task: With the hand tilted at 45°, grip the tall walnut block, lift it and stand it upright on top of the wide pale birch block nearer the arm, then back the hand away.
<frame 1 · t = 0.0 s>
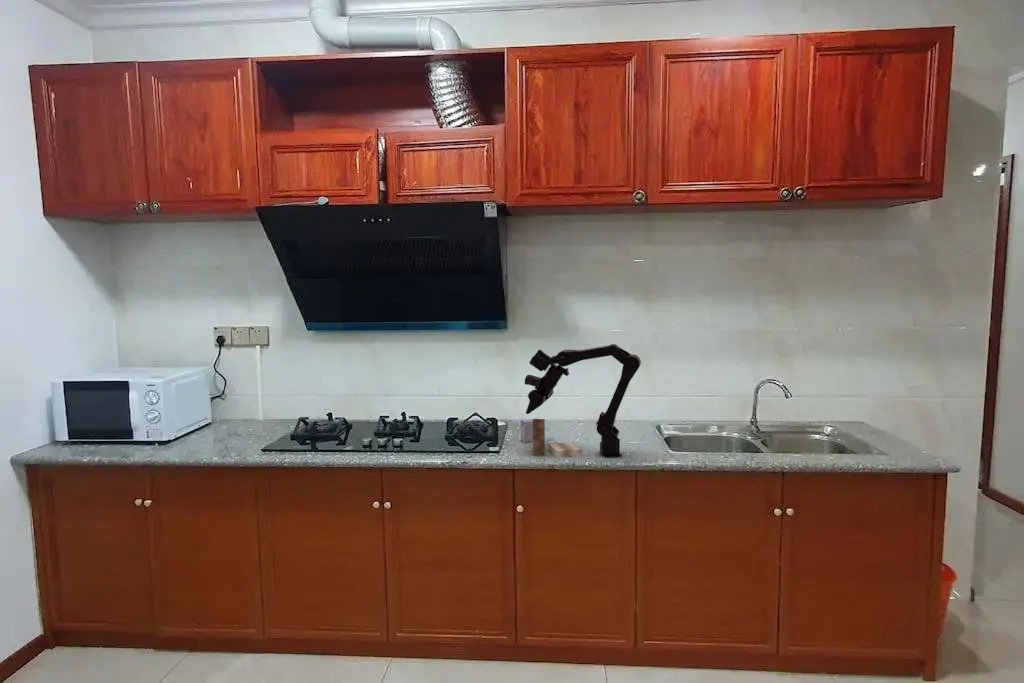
hand: (529, 411, 233), 15 cm above the counter, tool tilted 35°, fingers open, 9 cm apart
walnut block: (538, 454, 227), on the counter
medicine box: (531, 441, 246), on the counter
birch block: (564, 454, 229), on the counter
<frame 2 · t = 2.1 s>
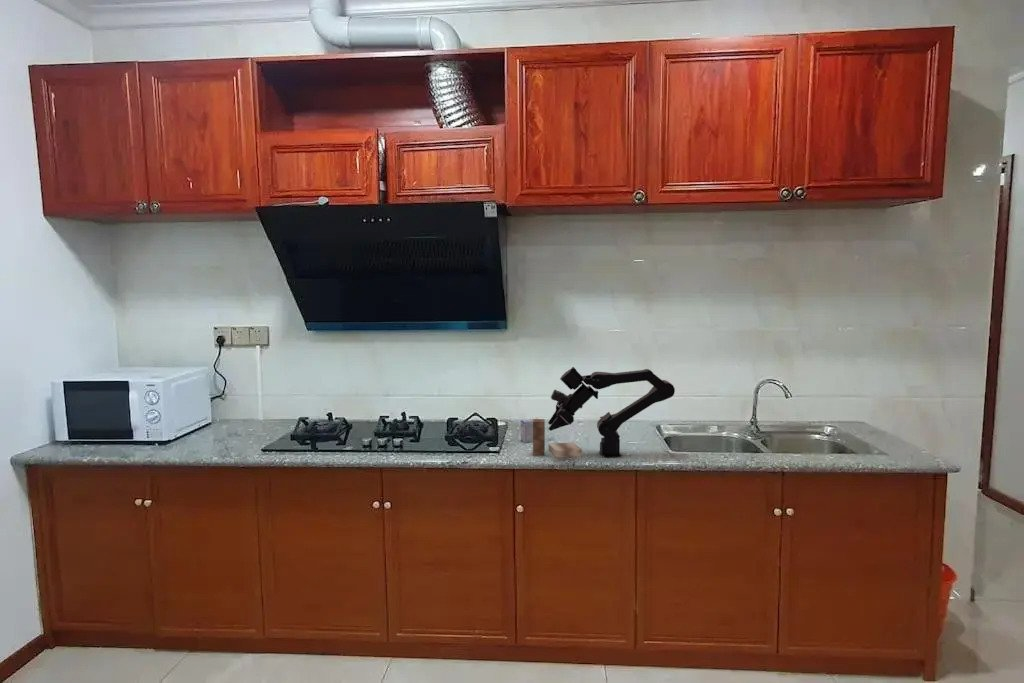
hand: (549, 426, 226), 11 cm above the counter, tool tilted 45°, fingers open, 9 cm apart
nothing on the counter moved.
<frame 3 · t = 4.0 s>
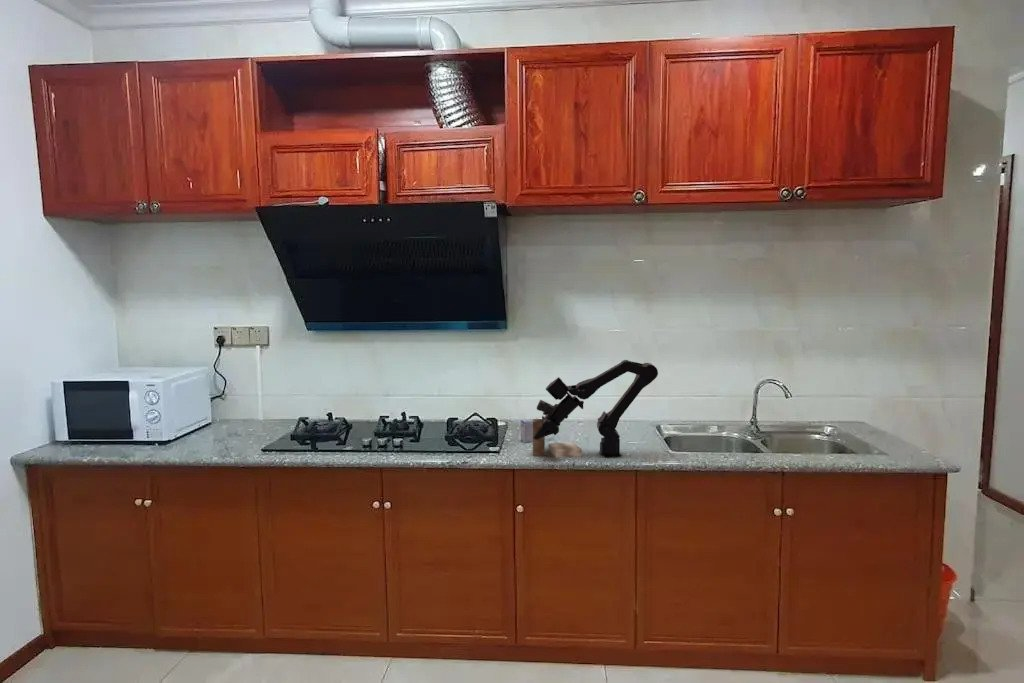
hand: (535, 436, 227), 7 cm above the counter, tool tilted 45°, fingers closed on walnut block, 4 cm apart
walnut block: (538, 454, 227), on the counter, touching gripper
everything else where it was.
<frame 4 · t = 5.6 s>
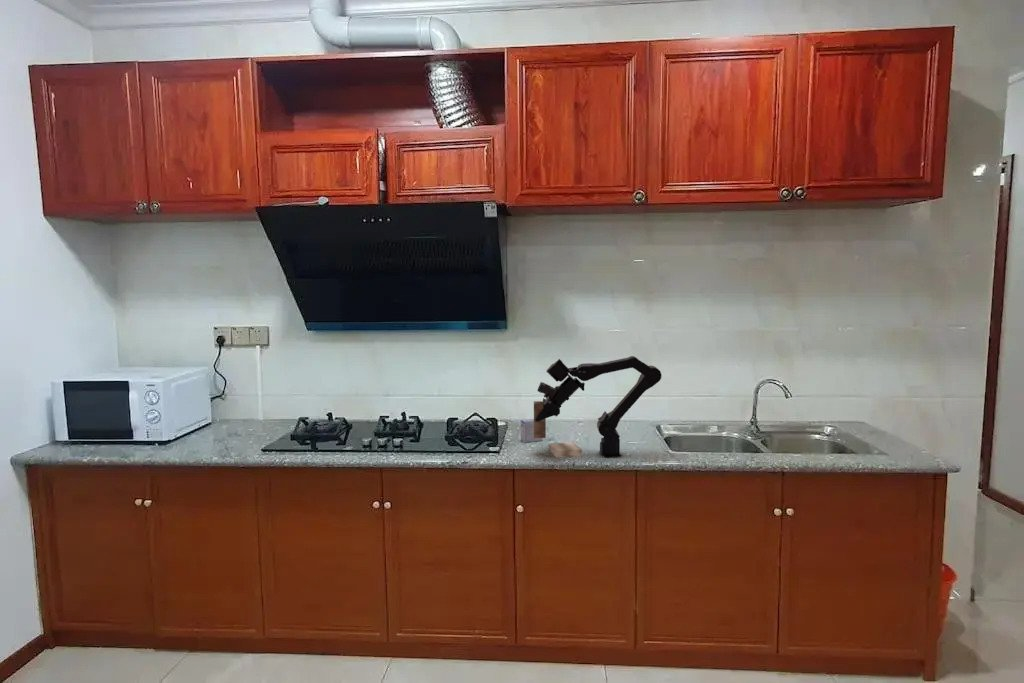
hand: (536, 419, 226), 13 cm above the counter, tool tilted 45°, fingers closed on walnut block, 4 cm apart
walnut block: (539, 436, 227), point 7 cm above the counter, touching gripper
everything else where it was.
when the fingers open (11 cm above the counter, at t = 7.3 s): walnut block drops 2 cm, resting on birch block.
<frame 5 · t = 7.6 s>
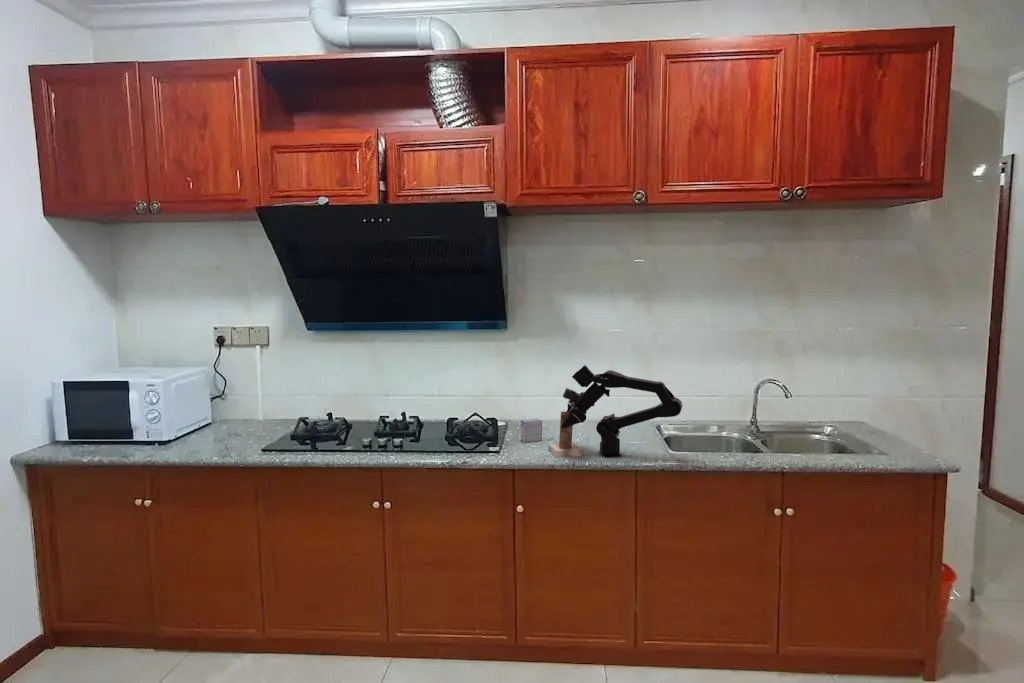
hand: (561, 425, 228), 11 cm above the counter, tool tilted 45°, fingers open, 8 cm apart
walnut block: (565, 446, 228), point 3 cm above the counter, touching birch block
birch block: (564, 454, 229), on the counter, touching walnut block
everything else where it was.
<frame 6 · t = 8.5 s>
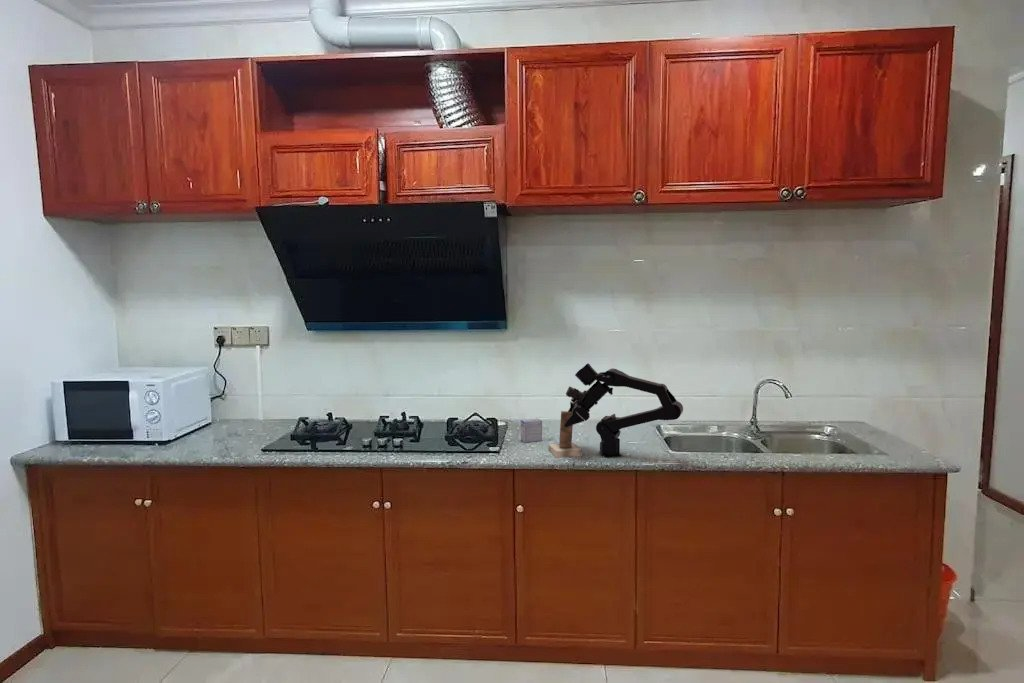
hand: (564, 423, 227), 12 cm above the counter, tool tilted 45°, fingers open, 9 cm apart
walnut block: (565, 446, 228), point 3 cm above the counter
birch block: (564, 454, 229), on the counter
everything else where it was.
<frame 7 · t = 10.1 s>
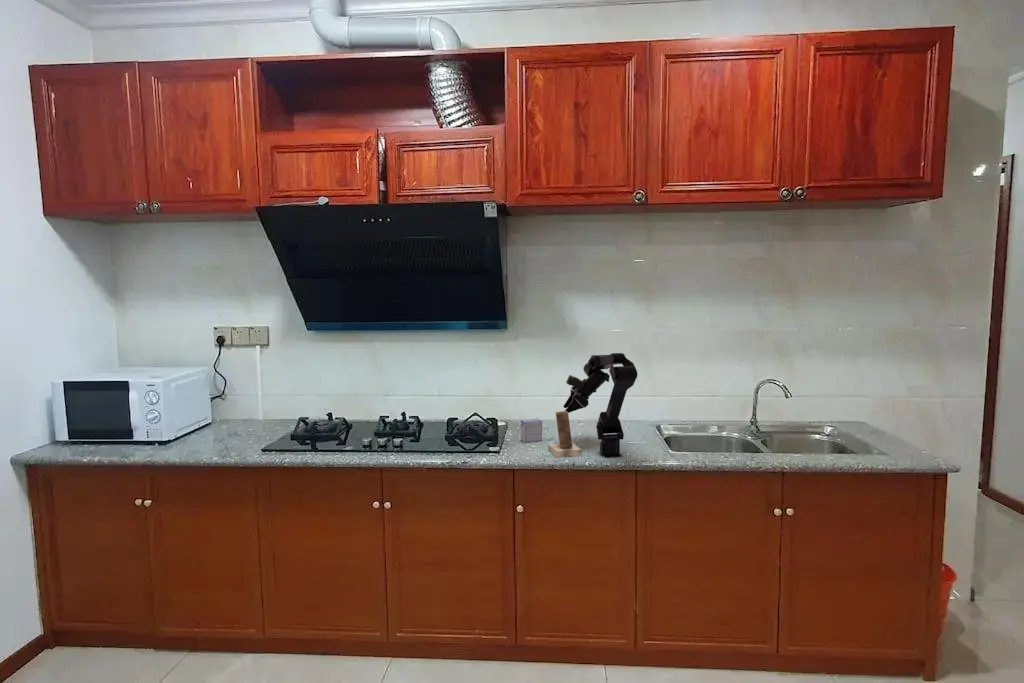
hand: (564, 410, 240), 14 cm above the counter, tool tilted 45°, fingers open, 9 cm apart
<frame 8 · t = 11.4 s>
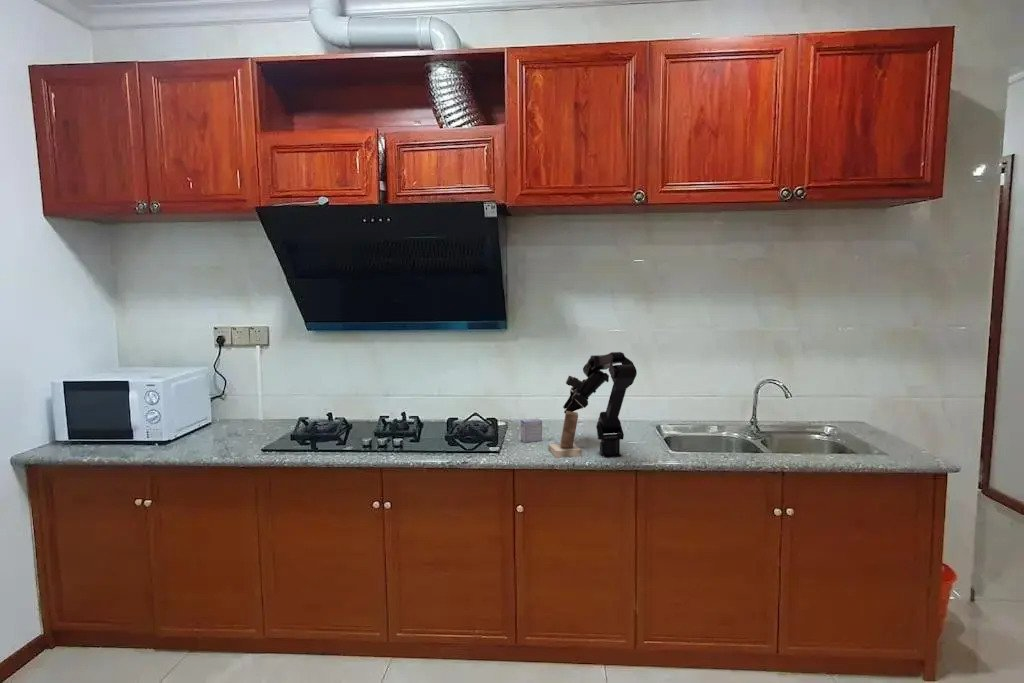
hand: (564, 410, 240), 14 cm above the counter, tool tilted 45°, fingers open, 9 cm apart
walnut block: (566, 445, 228), point 3 cm above the counter, tilted 9°, touching birch block
birch block: (564, 454, 229), on the counter, touching walnut block
everything else where it was.
at the end: walnut block 0.4 cm off-centre on the birch block, point 3.3 cm above the birch block's base; walnut block tilted 5°; the gripper is holding nothing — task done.
